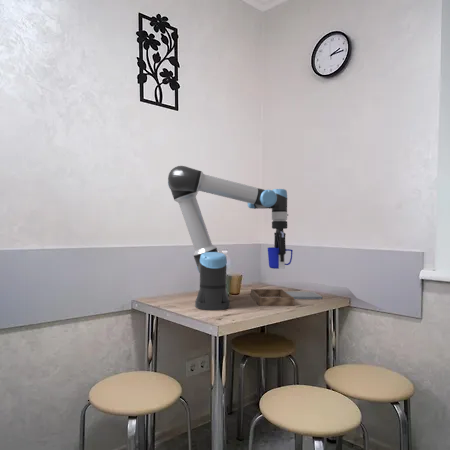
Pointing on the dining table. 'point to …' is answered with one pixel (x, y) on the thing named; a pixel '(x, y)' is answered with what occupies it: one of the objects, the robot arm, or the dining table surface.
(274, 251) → the mug
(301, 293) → the board
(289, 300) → the crate
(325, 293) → the dining table surface
